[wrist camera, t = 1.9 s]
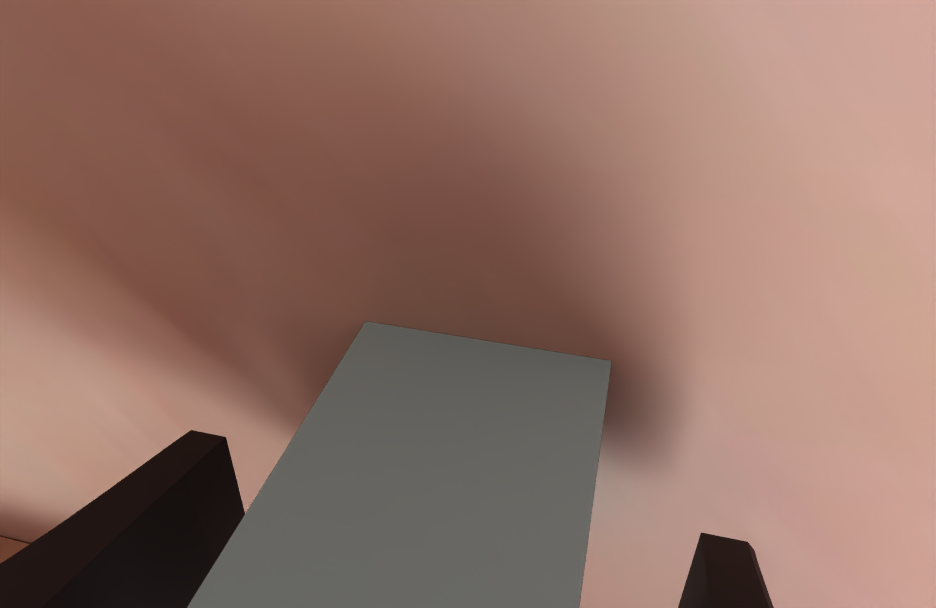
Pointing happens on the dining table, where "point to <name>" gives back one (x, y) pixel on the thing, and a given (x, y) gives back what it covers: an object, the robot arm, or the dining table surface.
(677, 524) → the dining table surface
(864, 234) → the dining table surface
